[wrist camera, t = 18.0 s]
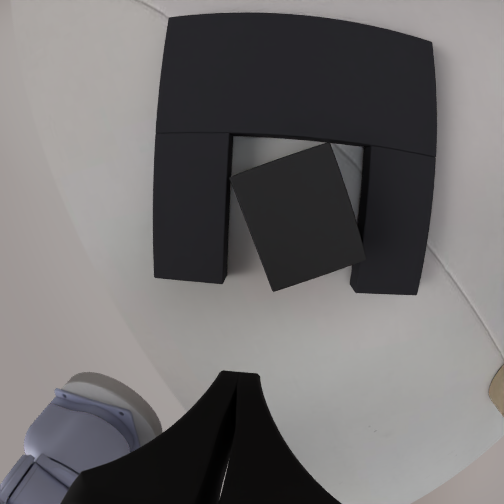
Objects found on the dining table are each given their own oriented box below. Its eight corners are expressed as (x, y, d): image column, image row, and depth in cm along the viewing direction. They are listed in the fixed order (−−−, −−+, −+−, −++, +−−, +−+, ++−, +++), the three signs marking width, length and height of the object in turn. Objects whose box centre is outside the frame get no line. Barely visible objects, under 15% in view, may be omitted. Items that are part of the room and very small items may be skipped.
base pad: (408, 287, 18) (417, 295, 17) (162, 270, 19) (153, 278, 18) (422, 49, 15) (432, 41, 13) (175, 26, 15) (168, 17, 14)
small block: (351, 244, 18) (367, 259, 15) (273, 271, 19) (272, 292, 15) (319, 147, 17) (329, 141, 14) (237, 176, 18) (228, 177, 14)
